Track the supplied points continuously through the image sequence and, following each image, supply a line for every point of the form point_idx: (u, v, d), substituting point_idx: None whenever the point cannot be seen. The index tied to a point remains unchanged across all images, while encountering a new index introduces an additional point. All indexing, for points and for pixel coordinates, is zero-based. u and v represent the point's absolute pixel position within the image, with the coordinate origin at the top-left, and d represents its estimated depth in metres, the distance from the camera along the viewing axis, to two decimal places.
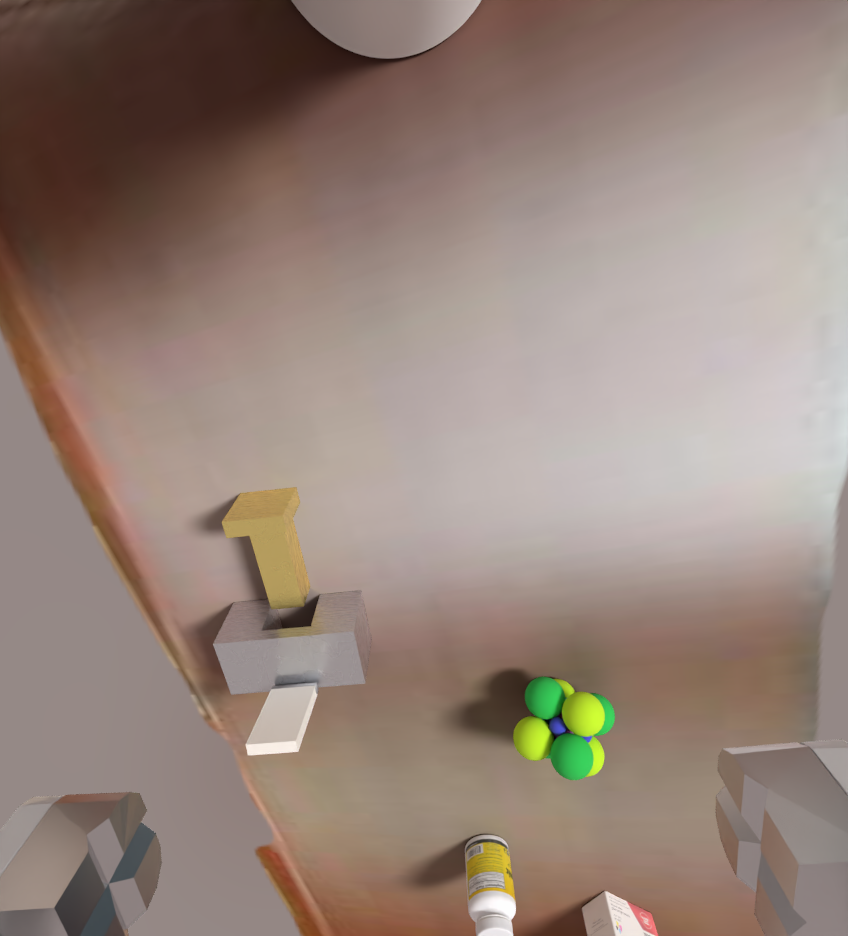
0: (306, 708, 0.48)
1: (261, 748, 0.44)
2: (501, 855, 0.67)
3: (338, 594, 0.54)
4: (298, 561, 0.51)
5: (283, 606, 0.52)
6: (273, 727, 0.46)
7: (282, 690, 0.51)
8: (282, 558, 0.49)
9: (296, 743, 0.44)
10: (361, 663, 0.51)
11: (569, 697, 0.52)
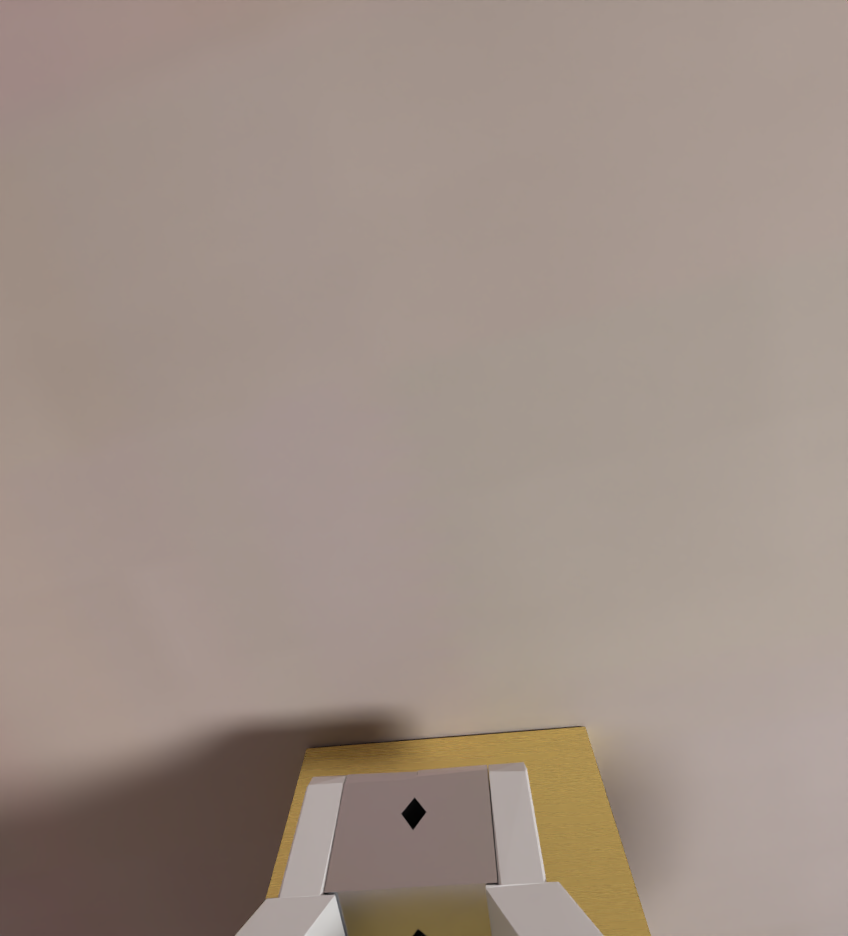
0: None
1: None
2: None
3: None
4: None
5: None
6: None
7: None
8: None
9: None
10: None
11: None
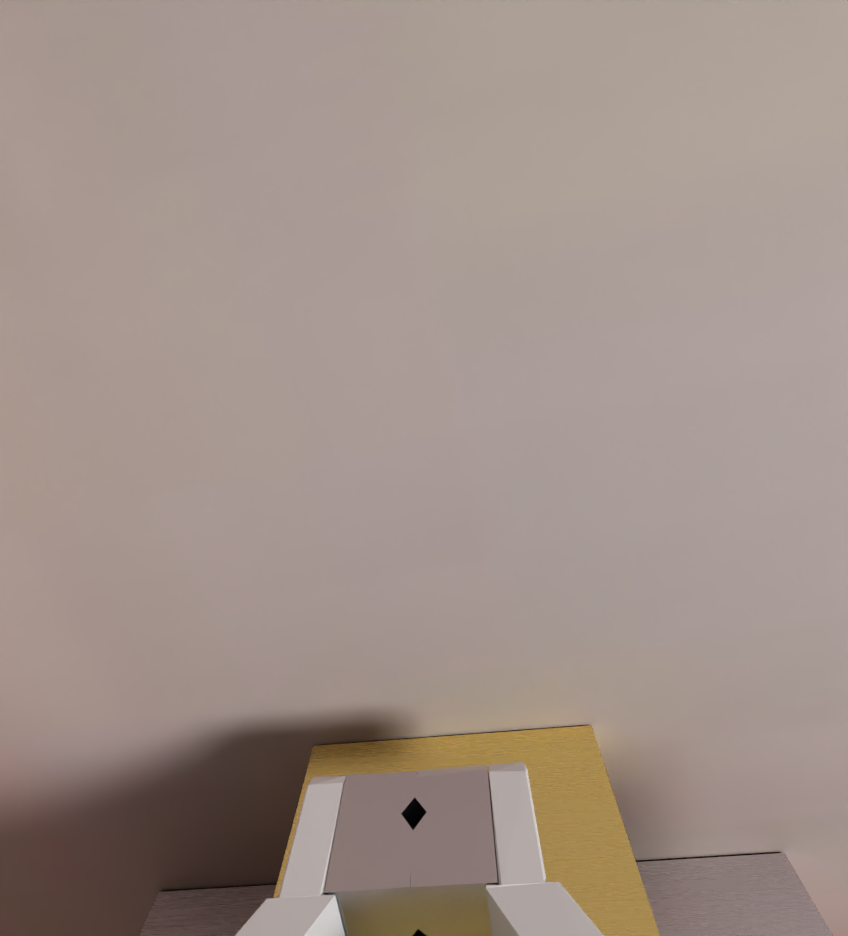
0: None
1: None
2: None
3: (673, 873, 0.11)
4: None
5: None
6: None
7: None
8: None
9: None
10: None
11: None
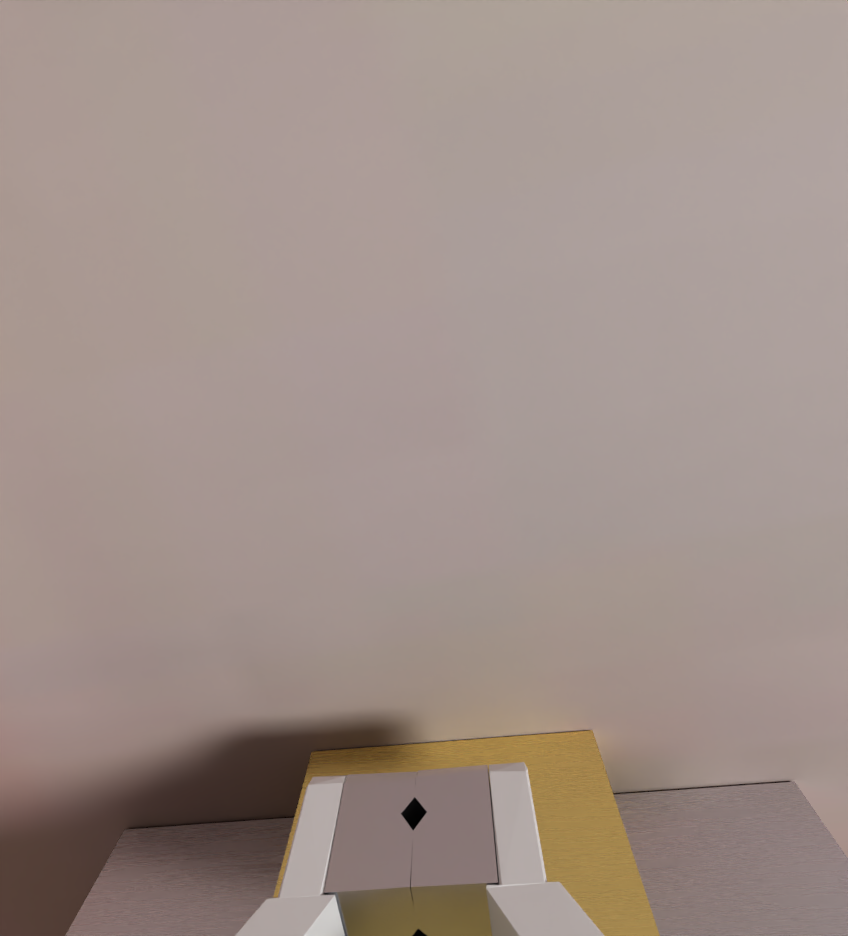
0: None
1: None
2: None
3: (675, 803, 0.10)
4: None
5: None
6: None
7: None
8: None
9: None
10: None
11: None
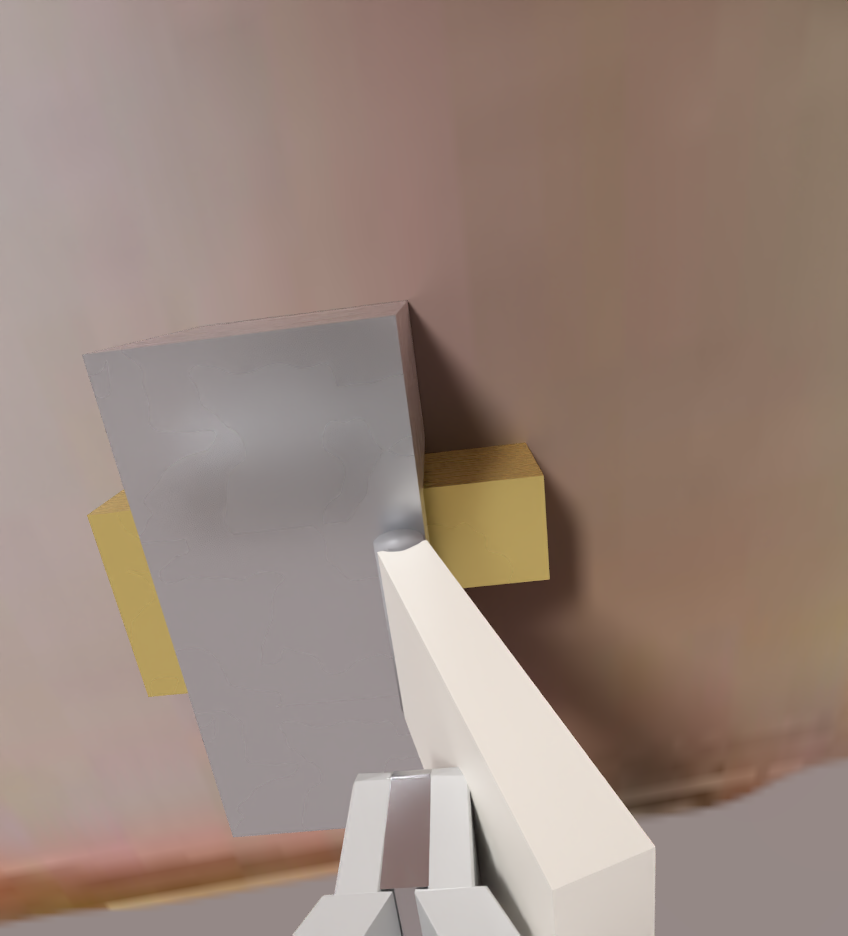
0: (423, 644, 0.08)
1: None
2: None
3: None
4: None
5: (539, 541, 0.15)
6: (492, 886, 0.07)
7: (401, 685, 0.12)
8: None
9: (580, 869, 0.05)
10: (283, 329, 0.11)
11: None
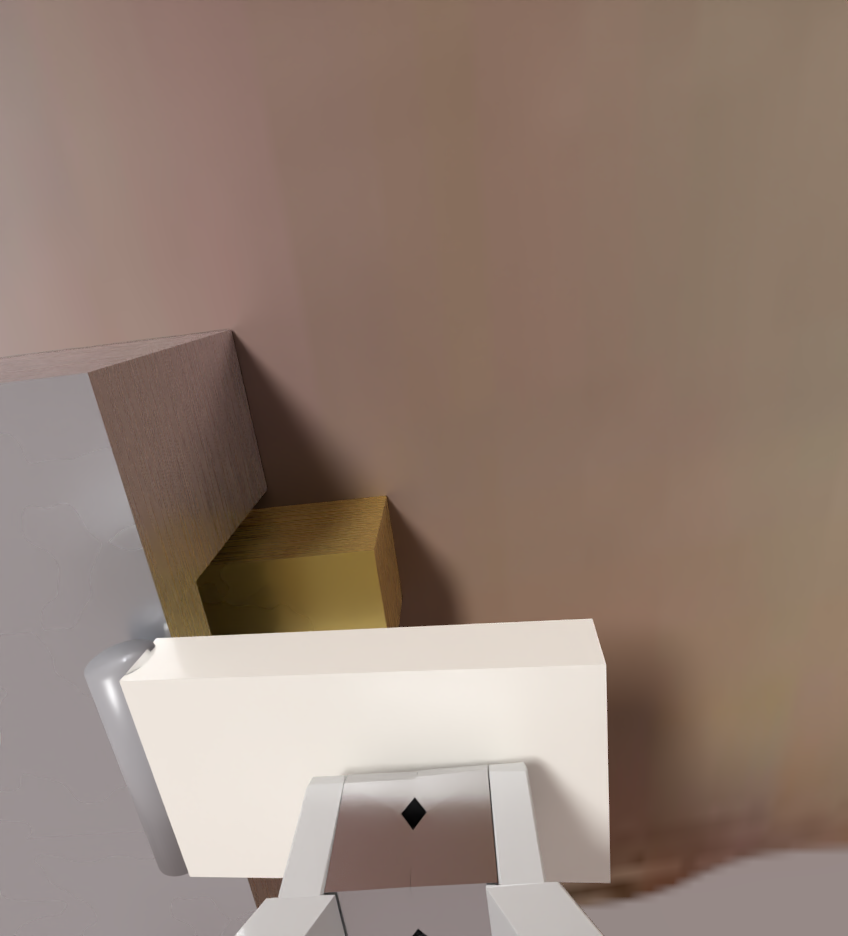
0: (325, 678, 0.08)
1: None
2: None
3: None
4: None
5: (376, 626, 0.12)
6: None
7: (191, 828, 0.09)
8: None
9: (594, 651, 0.08)
10: None
11: None
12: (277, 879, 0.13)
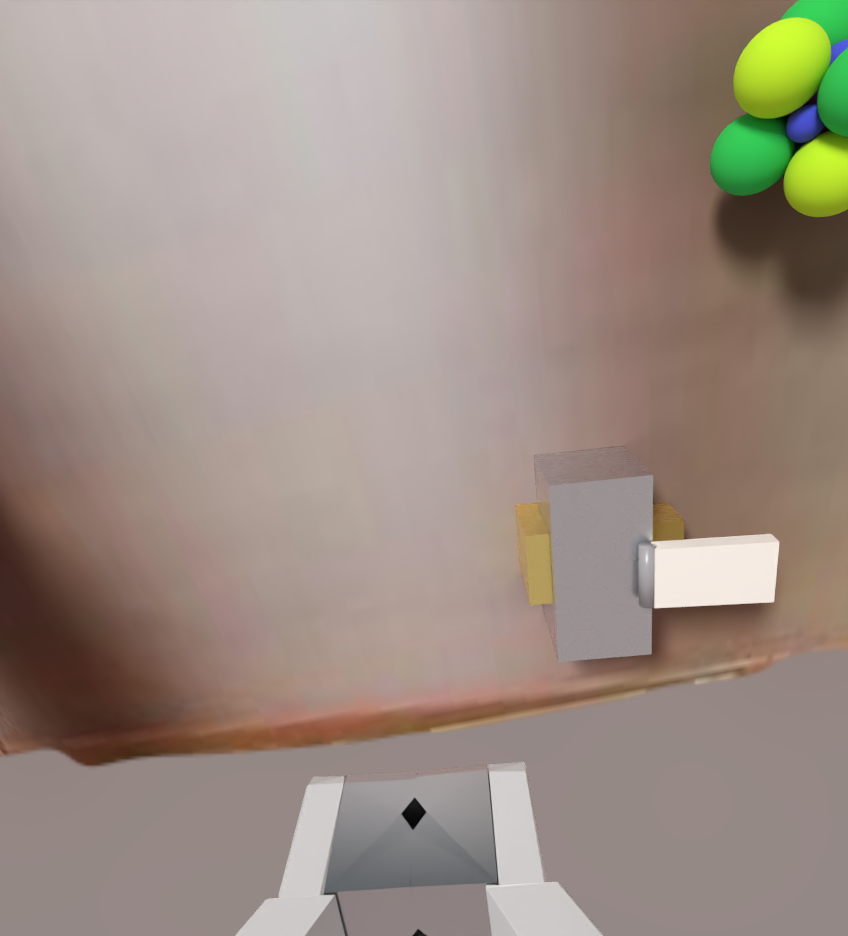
0: (710, 547, 0.33)
1: None
2: None
3: (536, 486, 0.39)
4: None
5: None
6: (744, 578, 0.34)
7: (660, 592, 0.34)
8: None
9: (774, 539, 0.33)
10: (614, 477, 0.33)
11: (740, 105, 0.27)
12: None
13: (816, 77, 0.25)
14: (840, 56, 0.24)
